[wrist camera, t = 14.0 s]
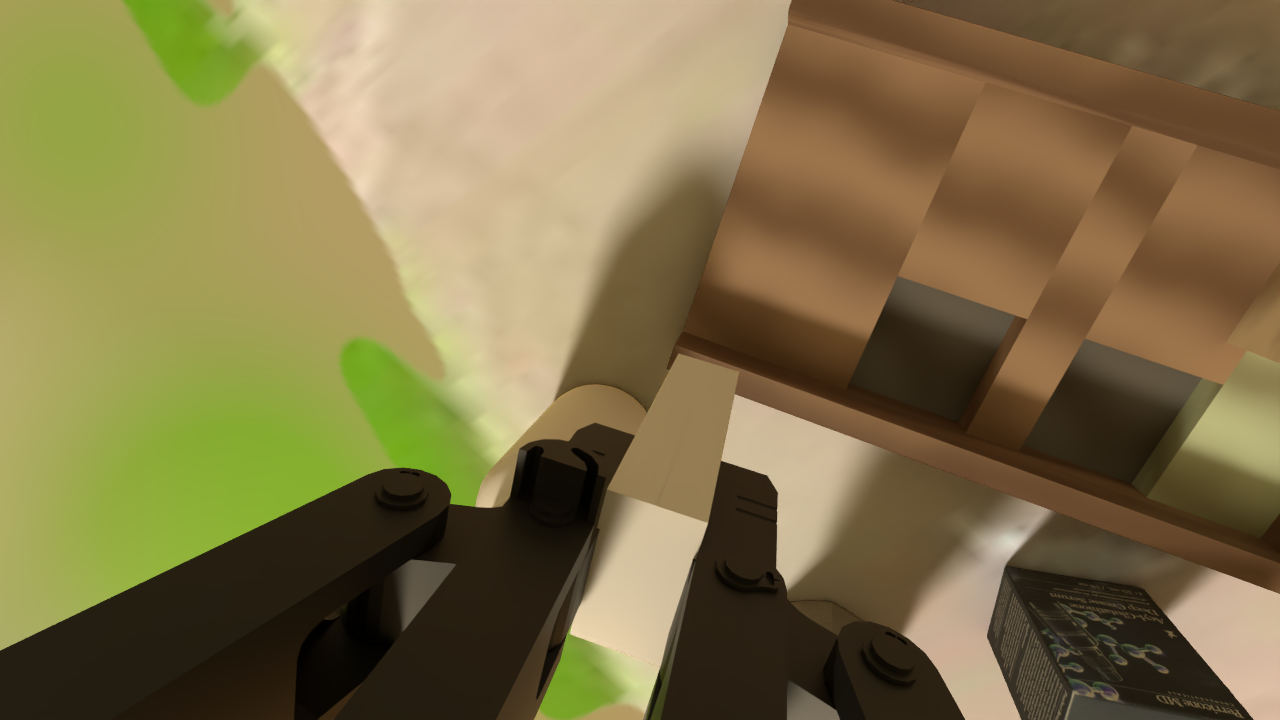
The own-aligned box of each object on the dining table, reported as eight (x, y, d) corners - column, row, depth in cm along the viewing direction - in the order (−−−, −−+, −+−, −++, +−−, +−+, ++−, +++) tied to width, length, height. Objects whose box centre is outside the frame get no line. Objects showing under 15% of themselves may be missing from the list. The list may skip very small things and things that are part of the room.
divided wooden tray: (798, 1, 33) (800, -26, 28) (1500, 205, 29) (1635, 212, 25) (680, 345, 40) (666, 368, 35) (1237, 546, 36) (1304, 602, 32)
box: (1143, 584, 38) (1269, 730, 28) (1117, 660, 40) (1227, 823, 30) (1002, 562, 40) (1074, 694, 30) (983, 636, 41) (1045, 784, 31)
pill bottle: (638, 506, 44) (570, 664, 30) (534, 461, 45) (420, 596, 31) (677, 408, 41) (621, 533, 27) (564, 363, 42) (455, 461, 28)
